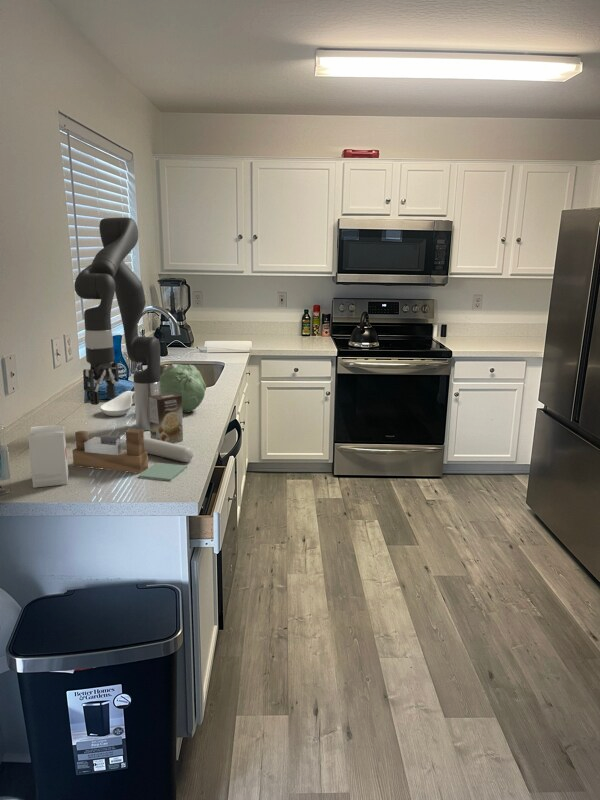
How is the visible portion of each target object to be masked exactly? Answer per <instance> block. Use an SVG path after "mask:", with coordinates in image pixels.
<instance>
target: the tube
mask: <svg viewBox="0 0 600 800" xmlns="http://www.w3.org/2000/svg"><path fill="white" fill-rule="evenodd" d="M144 450H145V452H147V454H149V455H153V456H158V457H161V458H164V459H169V460H173V461H177V462H181V461H182V463H189V462H190V461H192V459H193V457H194V452H193V449H192V448H190V447H189V446H184V445H182V444H181V445H180V444H176V443H169V442H164V441H160V440H156V439H151V437H147V436H144Z"/></svg>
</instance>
